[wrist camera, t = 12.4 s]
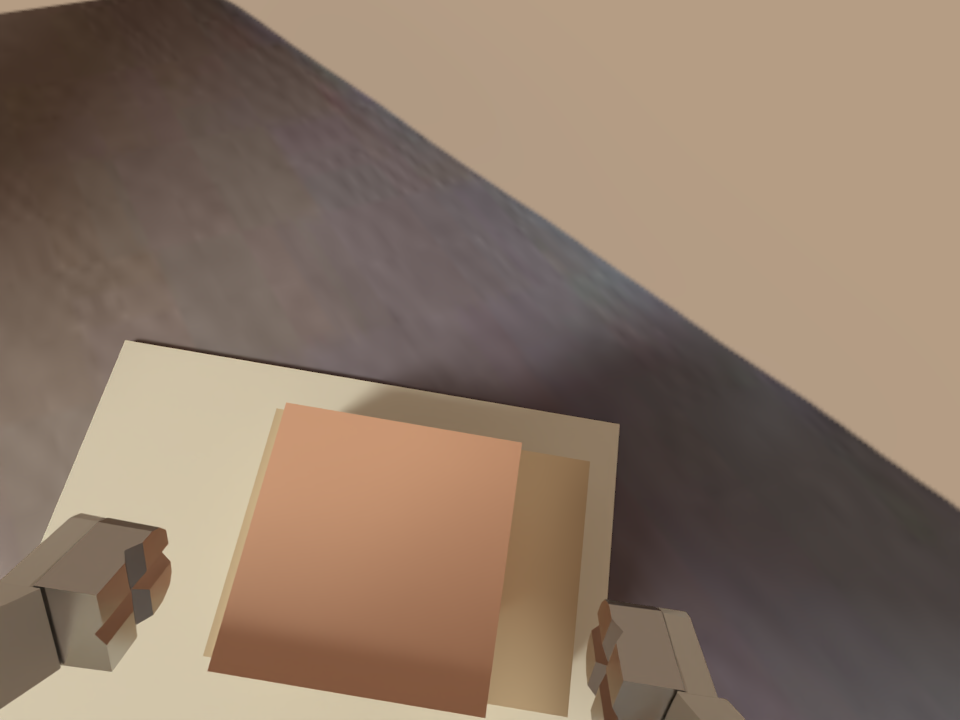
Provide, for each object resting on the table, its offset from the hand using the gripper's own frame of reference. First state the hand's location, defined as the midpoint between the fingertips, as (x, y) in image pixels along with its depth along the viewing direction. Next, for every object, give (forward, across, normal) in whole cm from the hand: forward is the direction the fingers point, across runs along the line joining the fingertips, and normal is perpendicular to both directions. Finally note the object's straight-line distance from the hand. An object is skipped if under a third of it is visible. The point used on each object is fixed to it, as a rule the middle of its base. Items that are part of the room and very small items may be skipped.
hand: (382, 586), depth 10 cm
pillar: (+5, 0, +4) cm, 6 cm away
